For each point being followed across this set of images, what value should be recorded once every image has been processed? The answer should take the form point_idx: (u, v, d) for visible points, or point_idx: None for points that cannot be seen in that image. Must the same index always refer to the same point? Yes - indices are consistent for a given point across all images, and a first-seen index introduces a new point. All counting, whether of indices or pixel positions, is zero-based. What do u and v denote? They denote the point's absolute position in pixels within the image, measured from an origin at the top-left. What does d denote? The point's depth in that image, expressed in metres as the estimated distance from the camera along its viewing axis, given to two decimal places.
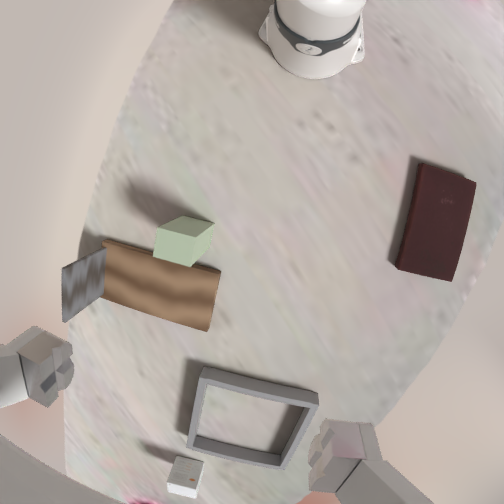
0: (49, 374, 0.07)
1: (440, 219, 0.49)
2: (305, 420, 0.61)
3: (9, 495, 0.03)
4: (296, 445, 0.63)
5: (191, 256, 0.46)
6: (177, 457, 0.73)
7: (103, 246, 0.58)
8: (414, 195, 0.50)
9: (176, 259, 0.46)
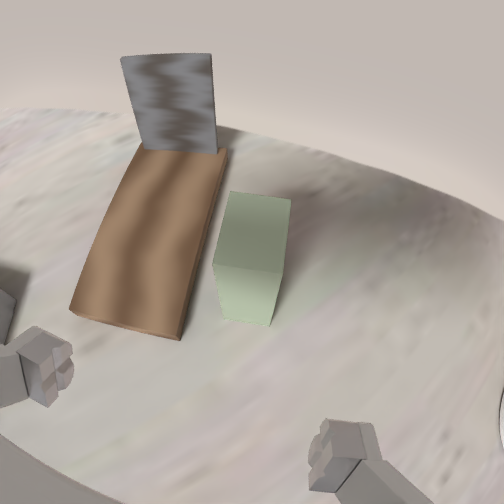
0: (49, 374, 0.07)
1: None
2: None
3: (9, 495, 0.03)
4: None
5: (237, 265, 0.20)
6: None
7: (219, 150, 0.39)
8: None
9: (227, 235, 0.22)
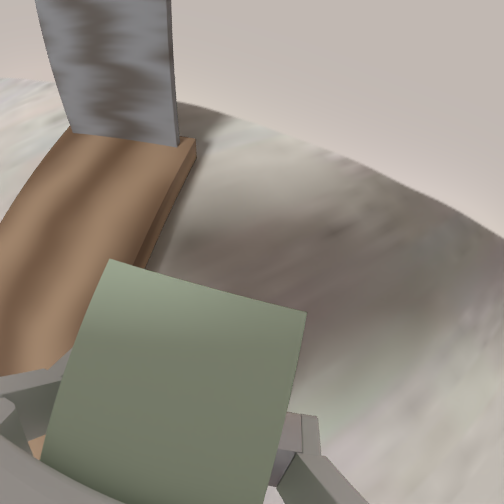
0: None
1: None
2: None
3: (9, 495, 0.03)
4: None
5: None
6: None
7: (182, 140, 0.23)
8: None
9: (72, 425, 0.05)
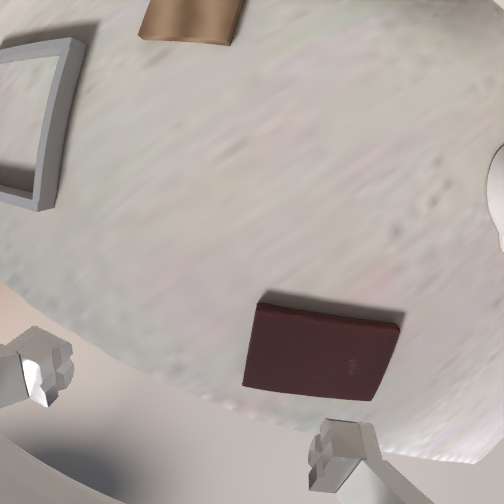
0: (49, 374, 0.07)
1: (329, 360, 0.40)
2: (16, 197, 0.37)
3: (9, 495, 0.03)
4: None
5: None
6: None
7: None
8: (359, 321, 0.39)
9: None
